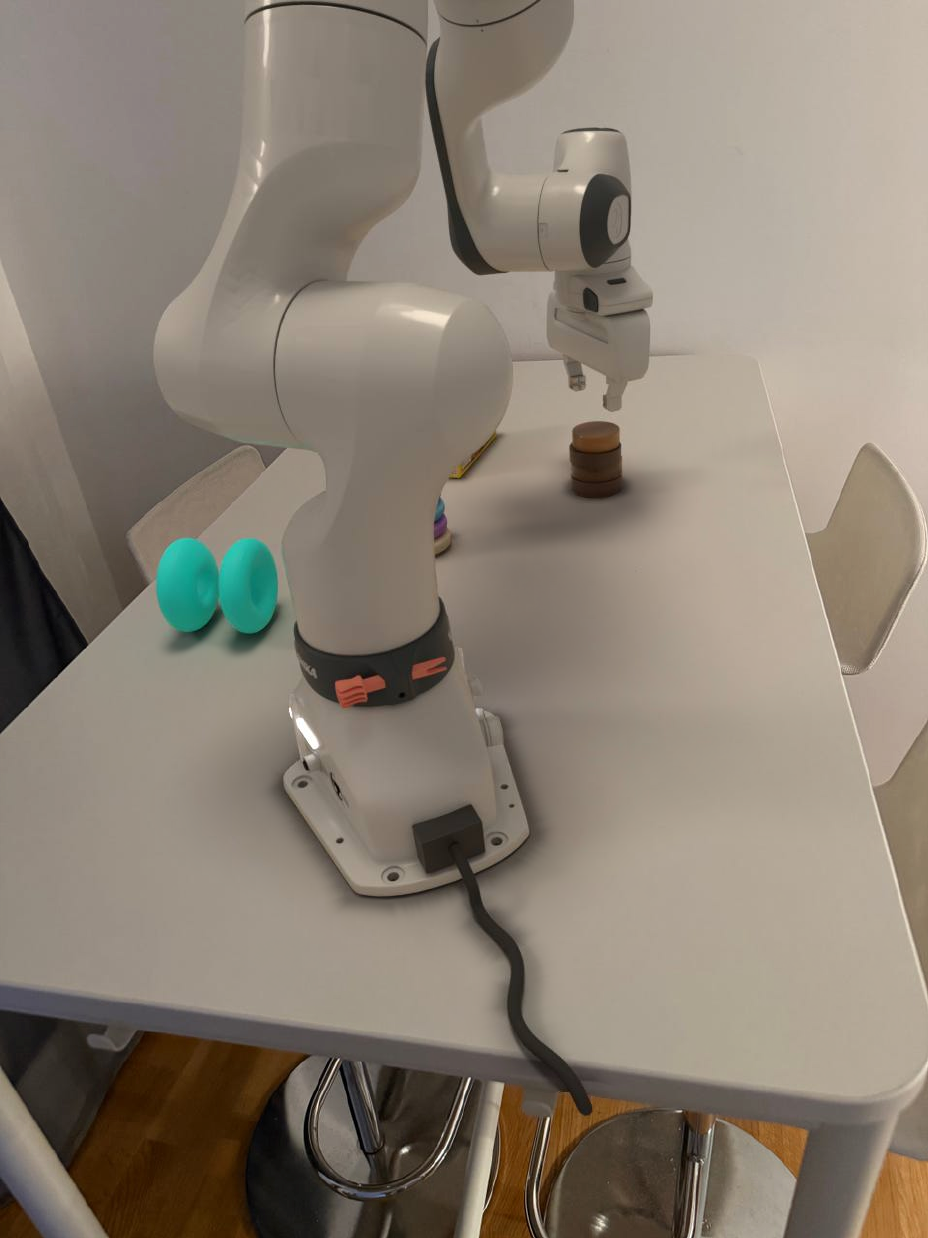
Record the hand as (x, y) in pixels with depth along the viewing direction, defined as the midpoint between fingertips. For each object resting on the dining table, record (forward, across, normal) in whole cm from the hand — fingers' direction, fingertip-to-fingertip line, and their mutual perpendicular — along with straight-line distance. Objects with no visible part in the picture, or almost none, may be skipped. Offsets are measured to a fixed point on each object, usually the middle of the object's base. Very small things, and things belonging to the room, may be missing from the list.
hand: (594, 399), depth 114 cm
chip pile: (+12, 0, 0) cm, 12 cm away
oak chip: (+6, 0, 0) cm, 6 cm away
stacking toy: (+13, +4, -26) cm, 29 cm away
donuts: (+13, +11, -50) cm, 52 cm away
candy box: (+12, -19, -10) cm, 25 cm away
